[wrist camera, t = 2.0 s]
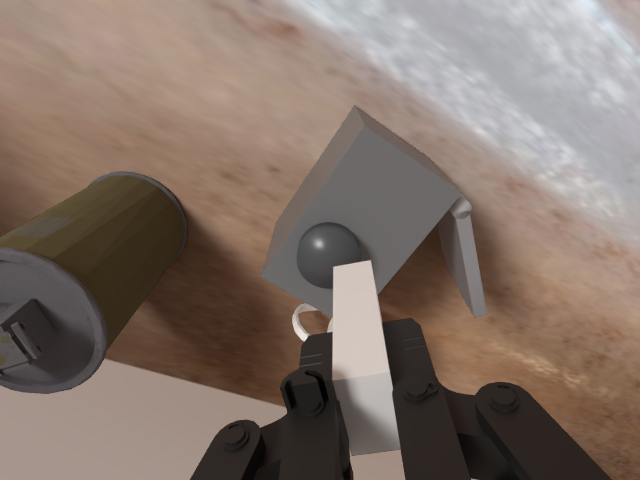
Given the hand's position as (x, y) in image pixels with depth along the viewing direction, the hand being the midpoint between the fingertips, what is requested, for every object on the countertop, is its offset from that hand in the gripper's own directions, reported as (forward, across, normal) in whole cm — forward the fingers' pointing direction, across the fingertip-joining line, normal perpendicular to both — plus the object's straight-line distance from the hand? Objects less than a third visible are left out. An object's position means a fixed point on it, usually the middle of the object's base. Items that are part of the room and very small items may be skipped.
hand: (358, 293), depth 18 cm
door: (+23, +8, -7) cm, 25 cm away
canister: (+24, -21, -2) cm, 32 cm away
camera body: (+24, 0, -3) cm, 24 cm away
